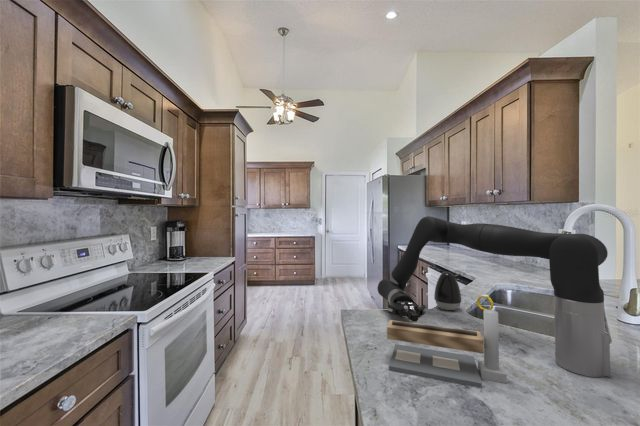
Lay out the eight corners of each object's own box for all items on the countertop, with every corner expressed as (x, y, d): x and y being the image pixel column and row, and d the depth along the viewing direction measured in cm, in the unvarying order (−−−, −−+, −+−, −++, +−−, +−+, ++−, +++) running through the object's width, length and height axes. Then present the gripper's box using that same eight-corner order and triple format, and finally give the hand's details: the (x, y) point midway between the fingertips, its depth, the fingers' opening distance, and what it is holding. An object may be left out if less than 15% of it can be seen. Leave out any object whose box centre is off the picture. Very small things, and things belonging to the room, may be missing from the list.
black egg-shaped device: (465, 313, 110) (465, 274, 110) (437, 312, 111) (437, 273, 112) (457, 305, 120) (456, 269, 120) (431, 304, 121) (431, 269, 122)
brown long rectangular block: (479, 343, 70) (479, 329, 70) (483, 353, 65) (483, 338, 65) (390, 330, 78) (389, 317, 78) (387, 338, 73) (386, 325, 73)
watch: (494, 311, 112) (495, 297, 112) (490, 313, 111) (491, 298, 111) (479, 306, 117) (480, 292, 117) (475, 307, 116) (476, 293, 116)
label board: (497, 364, 72) (496, 305, 72) (511, 393, 59) (510, 322, 60) (395, 347, 81) (394, 295, 81) (389, 370, 69) (388, 308, 69)
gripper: (381, 291, 101) (392, 305, 84) (418, 291, 101) (436, 305, 84) (381, 312, 101) (392, 331, 84) (418, 312, 101) (437, 331, 83)
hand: (414, 318), depth 84 cm, fingers closed
